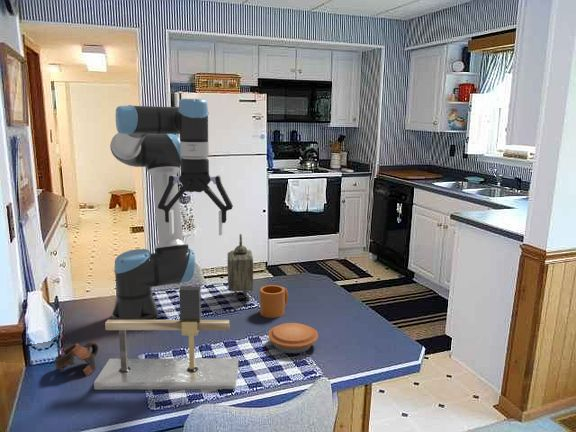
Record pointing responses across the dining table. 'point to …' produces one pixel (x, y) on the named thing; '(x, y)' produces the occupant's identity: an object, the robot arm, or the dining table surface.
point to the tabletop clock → (240, 270)
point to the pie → (293, 337)
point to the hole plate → (169, 374)
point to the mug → (273, 301)
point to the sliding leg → (190, 316)
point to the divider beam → (155, 325)
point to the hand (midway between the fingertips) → (196, 234)
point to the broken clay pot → (81, 353)
